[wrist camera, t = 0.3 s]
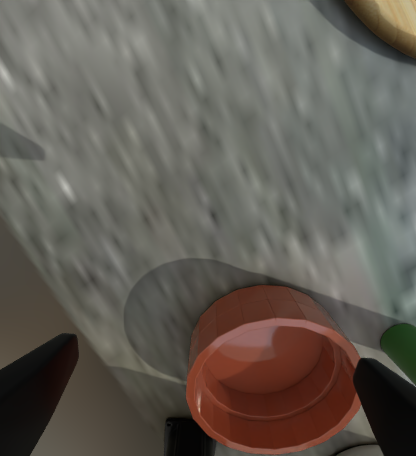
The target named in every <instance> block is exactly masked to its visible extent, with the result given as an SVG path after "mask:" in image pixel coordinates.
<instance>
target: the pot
mask: <svg viewBox="0 0 416 456" xmlns="http://www.w3.org/2000/svg"><path fill="white" fill-rule="evenodd" d="M359 359H360V356H359V354H358V352H357V350H356V349H355V347H354V345H353V344H352V343H351V342H350V340H349V339H348V338H347V337H346V335H345V334H344V333H343V331H342V330H341V329H340V328H339V326H338V325H337V324H336V323H335V321H334V320H333V319H332V318H331V316H330V315H329V314H328V312H327V311H326V310H325V309H324V308H323V307H322V306H321V305H320V304H318V303H317V302H316V301H315V300H314V299H312V298H311V297H310V296H309V295H307V294H304V293H302V292H299V291H296V290H294V289H291V288H289V287H285V286H271V285H257V286H252V287H247V288H243V289H238V290H236V291H234V292H232V293H230V294H228V295H226V296H224V297H222V298H220V299H218V300H217V301H215V302H214V303H213V304H212V305H211V306H210V307H209V308H208V309H207V310H206V311H205V312H204V313H203V314H202V315H201V317H200V318H199V320H198V322H197V324H196V327H195V329H194V331H193V333H192V335H191V344H190V354H189V363H188V373H187V385H186V400H187V403H188V406H189V409H190V412H191V414H192V417H193V419H194V420H195V421H196V422H197V424H198V425H199V426H200V427H201V428H202V429H203V431H204V432H205V433H206V434H207V435H208V436H210V437H212V438H213V439H215V440H217V441H218V442H220V443H221V444H223V445H225V446H227V447H230V448H233V449H236V450H240V451H243V452H246V453H253V454H269V455H278V454H284V453H291V452H298V451H302V450H305V449H307V448H310V447H312V446H315V445H318V444H320V443H323V442H325V441H326V440H328V439H329V438H331V437H332V436H333V435H335V434H336V433H338V432H339V431H341V430H342V429H344V428H345V426H346V425H347V424H348V423H349V422H350V420H351V419H352V418H353V417H354V415H355V414H356V413H357V412H358V411H359V409H360V406H361V402H360V400H359V397H358V395H357V392H356V390H355V388H354V385H353V374H354V371H355V369H356V366H357V363H358V361H359Z"/></svg>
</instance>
